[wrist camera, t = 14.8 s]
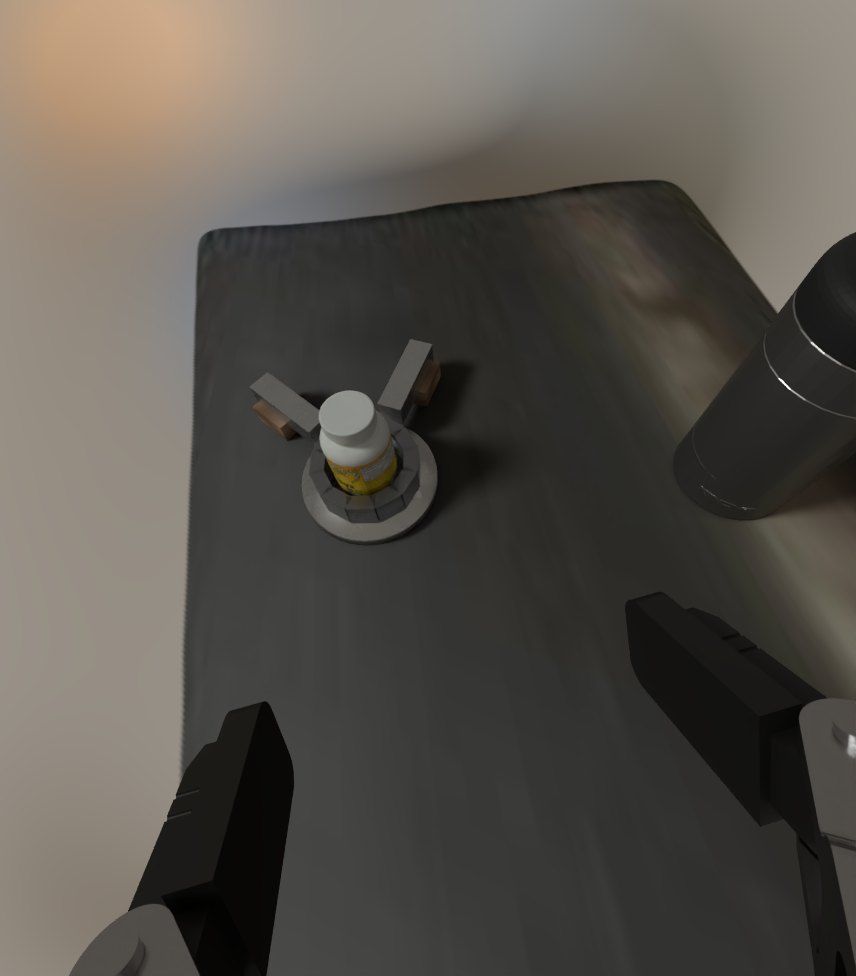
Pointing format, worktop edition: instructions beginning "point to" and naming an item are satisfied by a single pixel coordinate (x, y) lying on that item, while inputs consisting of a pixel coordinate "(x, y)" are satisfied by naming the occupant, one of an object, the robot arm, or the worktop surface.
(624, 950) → the worktop surface
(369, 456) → the supplement bottle
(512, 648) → the worktop surface
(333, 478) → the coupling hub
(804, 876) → the robot arm
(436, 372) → the blocks
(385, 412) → the angled shafts
